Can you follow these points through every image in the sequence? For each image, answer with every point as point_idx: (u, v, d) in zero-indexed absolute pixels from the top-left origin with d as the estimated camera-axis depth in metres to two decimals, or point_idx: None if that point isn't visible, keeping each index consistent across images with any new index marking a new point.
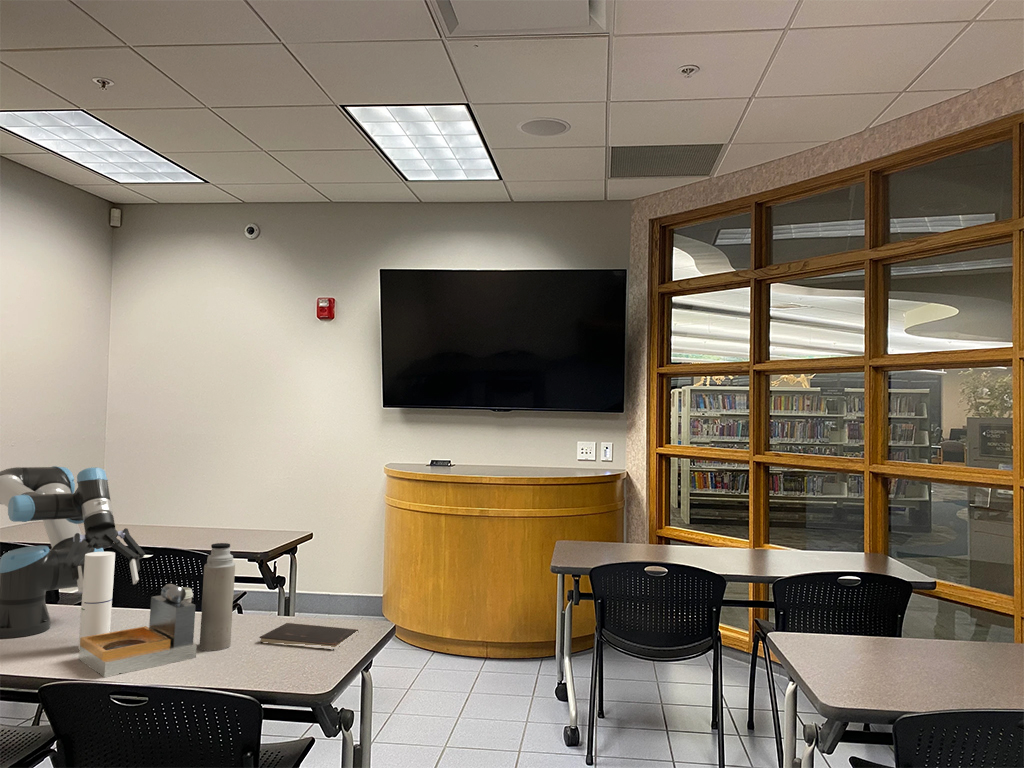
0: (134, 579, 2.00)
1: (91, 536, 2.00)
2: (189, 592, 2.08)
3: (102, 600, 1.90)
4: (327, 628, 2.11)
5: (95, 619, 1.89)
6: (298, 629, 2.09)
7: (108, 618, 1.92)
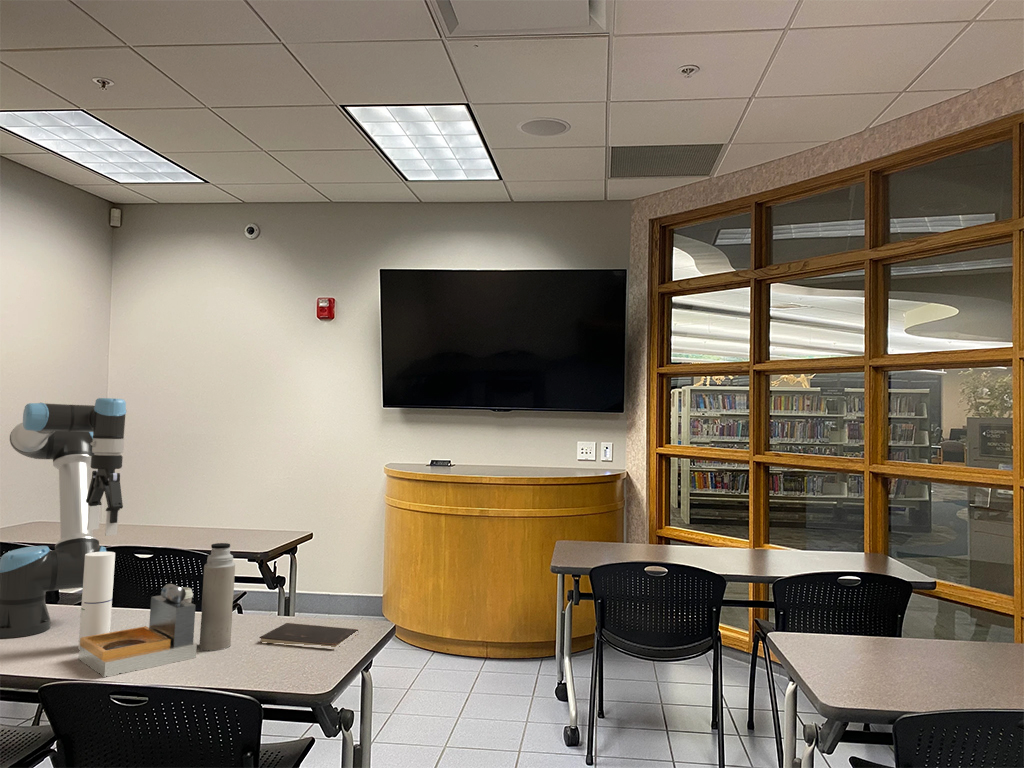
0: None
1: None
2: (189, 592, 2.08)
3: (102, 600, 1.90)
4: (327, 628, 2.11)
5: (95, 619, 1.89)
6: (298, 629, 2.09)
7: (108, 618, 1.92)
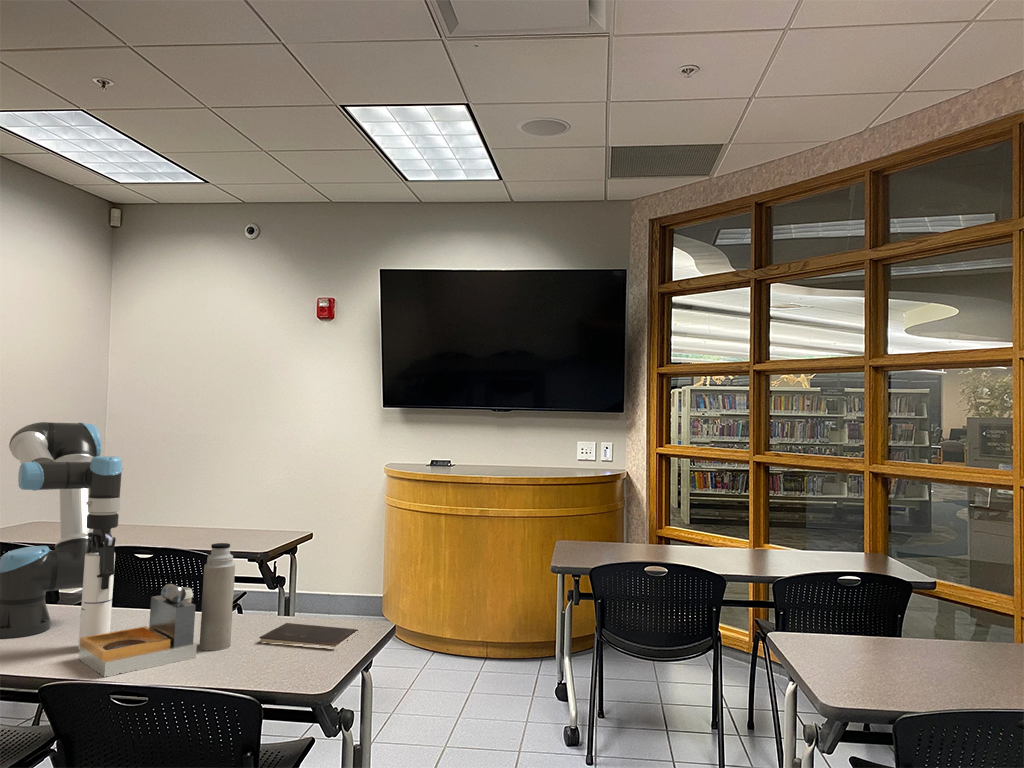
0: None
1: (93, 534, 1.94)
2: (189, 592, 2.08)
3: None
4: (327, 628, 2.10)
5: (95, 619, 1.89)
6: (298, 629, 2.09)
7: (108, 618, 1.92)
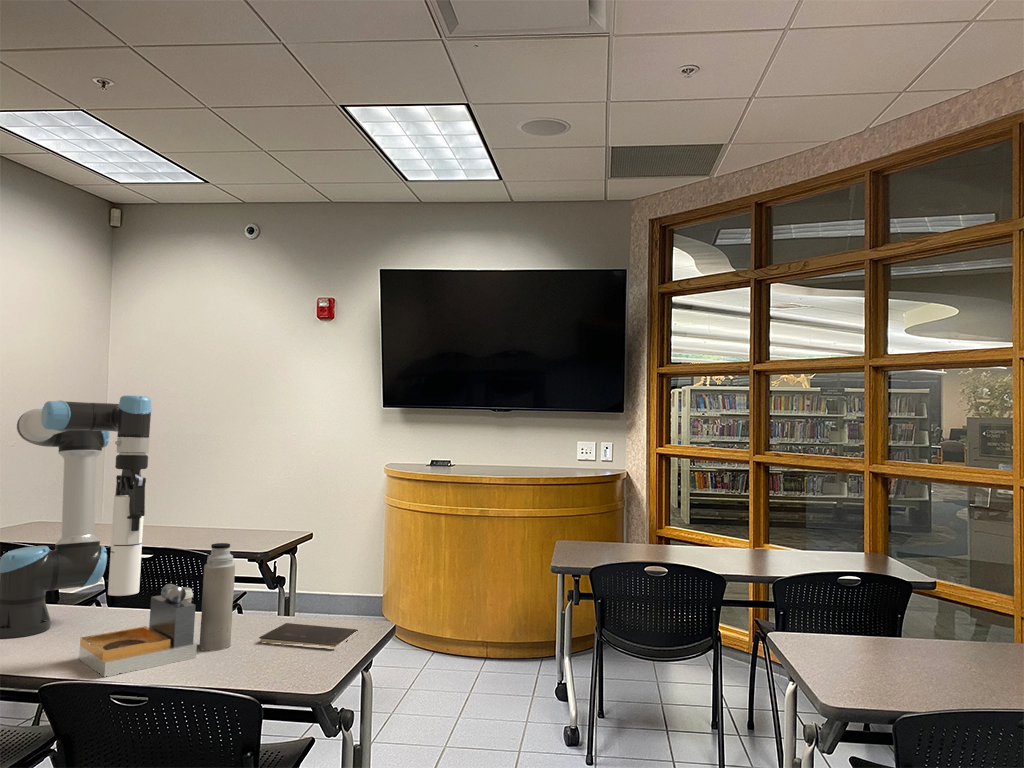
0: None
1: None
2: (189, 592, 2.08)
3: None
4: (326, 628, 2.10)
5: (125, 562, 1.82)
6: (298, 629, 2.08)
7: (139, 562, 1.85)
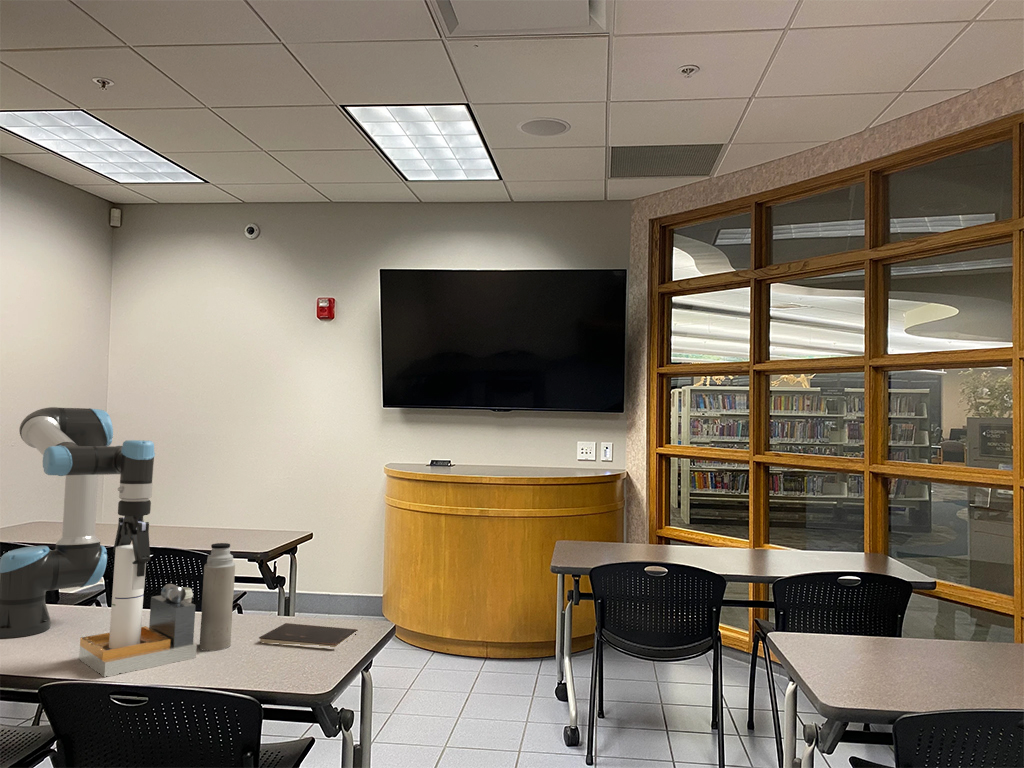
0: None
1: None
2: (189, 592, 2.08)
3: (133, 595, 1.81)
4: (326, 628, 2.10)
5: (126, 615, 1.80)
6: (298, 629, 2.08)
7: (140, 615, 1.83)
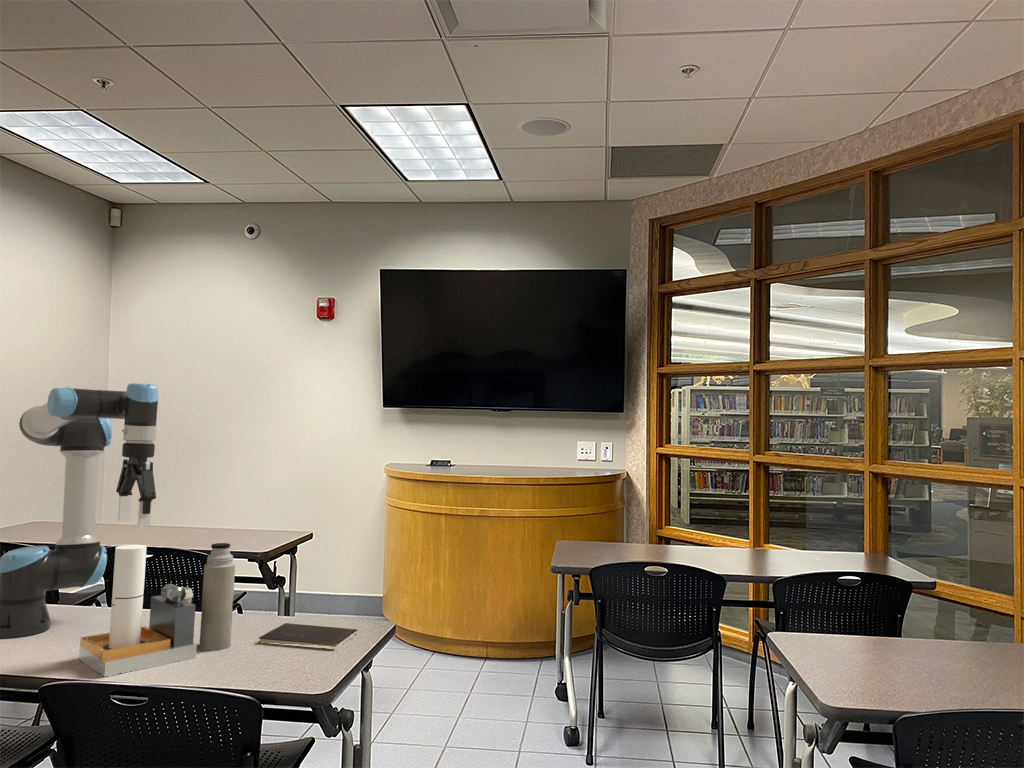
0: None
1: None
2: (189, 592, 2.08)
3: (133, 595, 1.81)
4: (326, 628, 2.10)
5: (126, 615, 1.80)
6: (297, 629, 2.08)
7: (140, 615, 1.83)
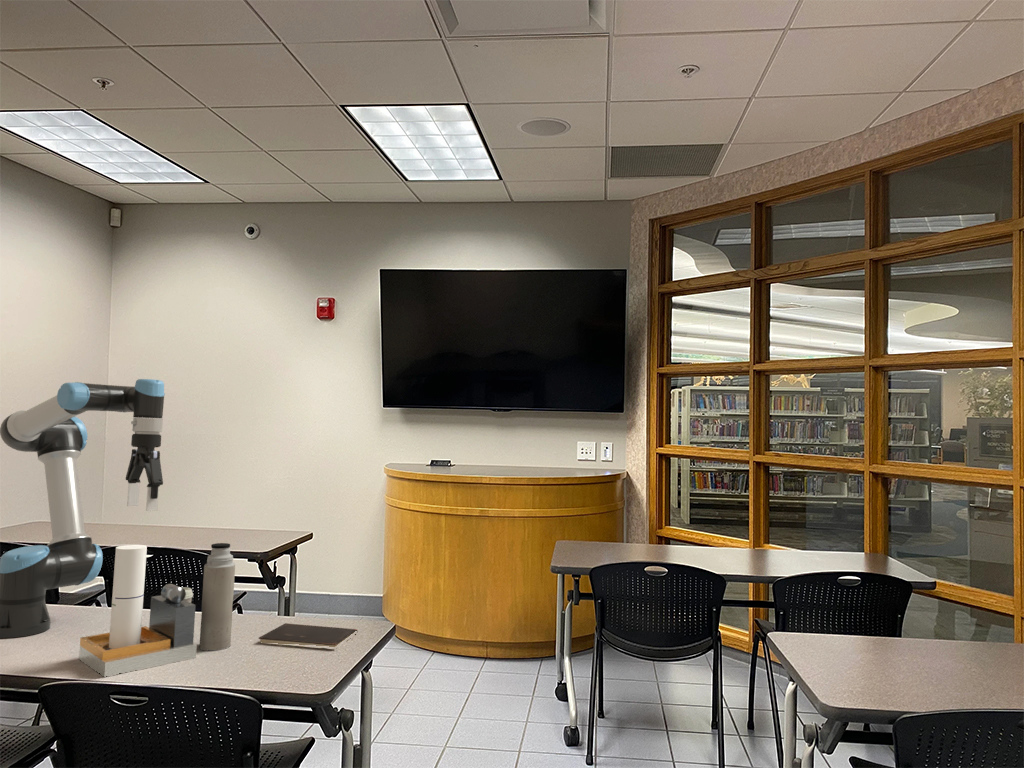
0: None
1: None
2: (189, 592, 2.08)
3: (134, 595, 1.81)
4: (326, 628, 2.10)
5: (126, 615, 1.80)
6: (297, 629, 2.08)
7: (140, 615, 1.83)
